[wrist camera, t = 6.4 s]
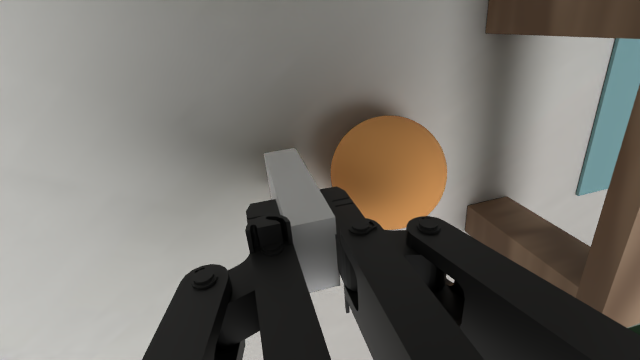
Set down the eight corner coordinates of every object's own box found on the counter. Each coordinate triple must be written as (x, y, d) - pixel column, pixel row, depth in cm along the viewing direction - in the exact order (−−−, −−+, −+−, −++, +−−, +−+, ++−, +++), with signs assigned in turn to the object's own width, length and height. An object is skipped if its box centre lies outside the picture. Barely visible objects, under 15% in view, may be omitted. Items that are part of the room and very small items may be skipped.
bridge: (465, 231, 24) (592, 339, 16) (489, -10, 17) (726, -40, 9) (503, 221, 24) (645, 321, 16) (540, -15, 18) (805, -47, 10)
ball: (457, 141, 13) (452, 105, 17) (313, 132, 14) (345, 101, 19) (439, 262, 15) (439, 202, 20) (317, 242, 16) (345, 191, 21)
